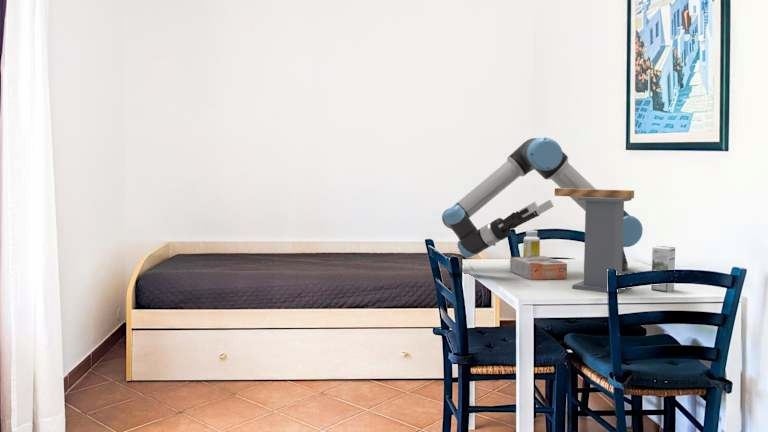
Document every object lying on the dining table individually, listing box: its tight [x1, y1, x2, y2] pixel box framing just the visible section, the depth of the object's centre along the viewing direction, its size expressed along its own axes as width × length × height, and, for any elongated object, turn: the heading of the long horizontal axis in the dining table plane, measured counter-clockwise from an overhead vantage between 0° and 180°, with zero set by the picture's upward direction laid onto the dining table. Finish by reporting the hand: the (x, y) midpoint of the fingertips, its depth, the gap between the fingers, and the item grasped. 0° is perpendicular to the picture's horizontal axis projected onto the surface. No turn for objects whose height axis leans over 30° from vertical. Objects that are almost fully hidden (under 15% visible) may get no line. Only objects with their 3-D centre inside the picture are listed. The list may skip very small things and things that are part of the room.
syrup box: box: [650, 245, 676, 293], centre depth 261 cm, size 6×6×14 cm
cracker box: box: [509, 255, 568, 281], centre depth 291 cm, size 14×6×21 cm
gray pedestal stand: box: [571, 197, 632, 294], centre depth 263 cm, size 16×14×30 cm
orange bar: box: [554, 187, 635, 200], centre depth 264 cm, size 26×4×2 cm, turn 57°
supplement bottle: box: [522, 229, 541, 257], centre depth 328 cm, size 7×7×13 cm
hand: (544, 204), depth 274 cm, fingers open, 13 cm apart
